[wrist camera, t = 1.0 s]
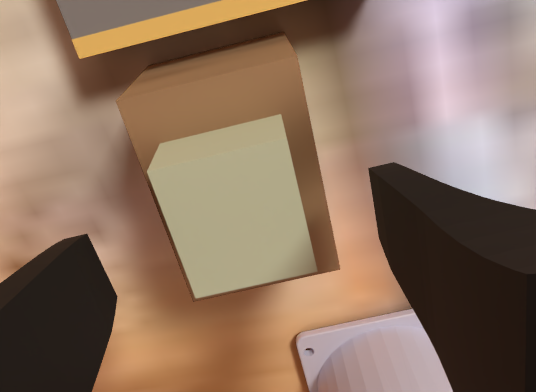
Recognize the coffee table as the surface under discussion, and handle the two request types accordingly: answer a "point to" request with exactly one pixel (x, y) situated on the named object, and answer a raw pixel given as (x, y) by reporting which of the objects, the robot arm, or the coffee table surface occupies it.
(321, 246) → the brown block
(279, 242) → the block
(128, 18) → the dock
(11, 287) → the robot arm
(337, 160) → the coffee table surface
